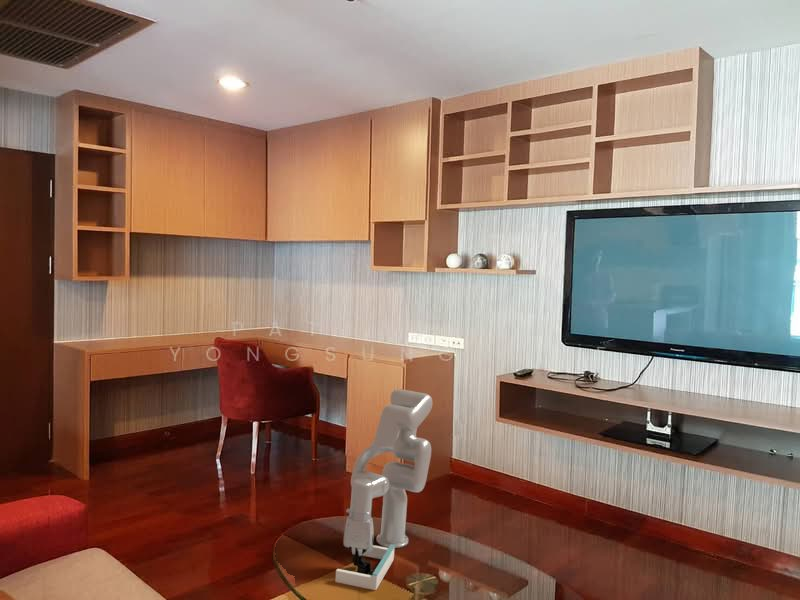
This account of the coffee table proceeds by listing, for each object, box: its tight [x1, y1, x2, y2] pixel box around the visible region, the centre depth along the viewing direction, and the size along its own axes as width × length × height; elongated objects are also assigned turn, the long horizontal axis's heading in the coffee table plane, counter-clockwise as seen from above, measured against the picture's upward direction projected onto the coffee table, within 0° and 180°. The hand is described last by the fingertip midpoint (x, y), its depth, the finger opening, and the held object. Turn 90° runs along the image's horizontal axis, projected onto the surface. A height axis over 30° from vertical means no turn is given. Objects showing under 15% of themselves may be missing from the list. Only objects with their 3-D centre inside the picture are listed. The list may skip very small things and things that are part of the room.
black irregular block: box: [356, 559, 375, 576], centre depth 218 cm, size 12×7×5 cm, turn 152°
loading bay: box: [334, 544, 396, 591], centre depth 221 cm, size 23×14×5 cm, turn 166°
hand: (357, 564), depth 222 cm, fingers closed
